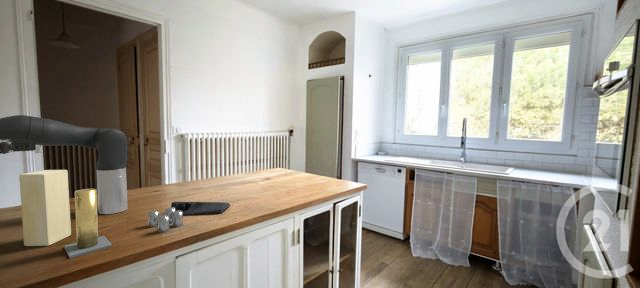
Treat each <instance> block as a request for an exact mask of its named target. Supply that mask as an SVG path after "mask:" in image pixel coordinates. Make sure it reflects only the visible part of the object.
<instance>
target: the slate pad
mask: <svg viewBox="0 0 640 288" xmlns="http://www.w3.org/2000/svg"><path fill="white" fill-rule="evenodd" d="M63 247H64V250H65V252H66V254H67V256H68V258H69V259H73V258H76V257H79V256H83V255H86V254H90V253H93V252H96V251H101V250H105V249H108V248H111V247H113V244H112V242H111V241H109V240H108V238H107V237H106V236H105V235H102V236H98V244H97V245H95V246H93V247H90V248H85V249H78V248H77V242H74V243H70V244H65V245H64V246H63Z"/></svg>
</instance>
